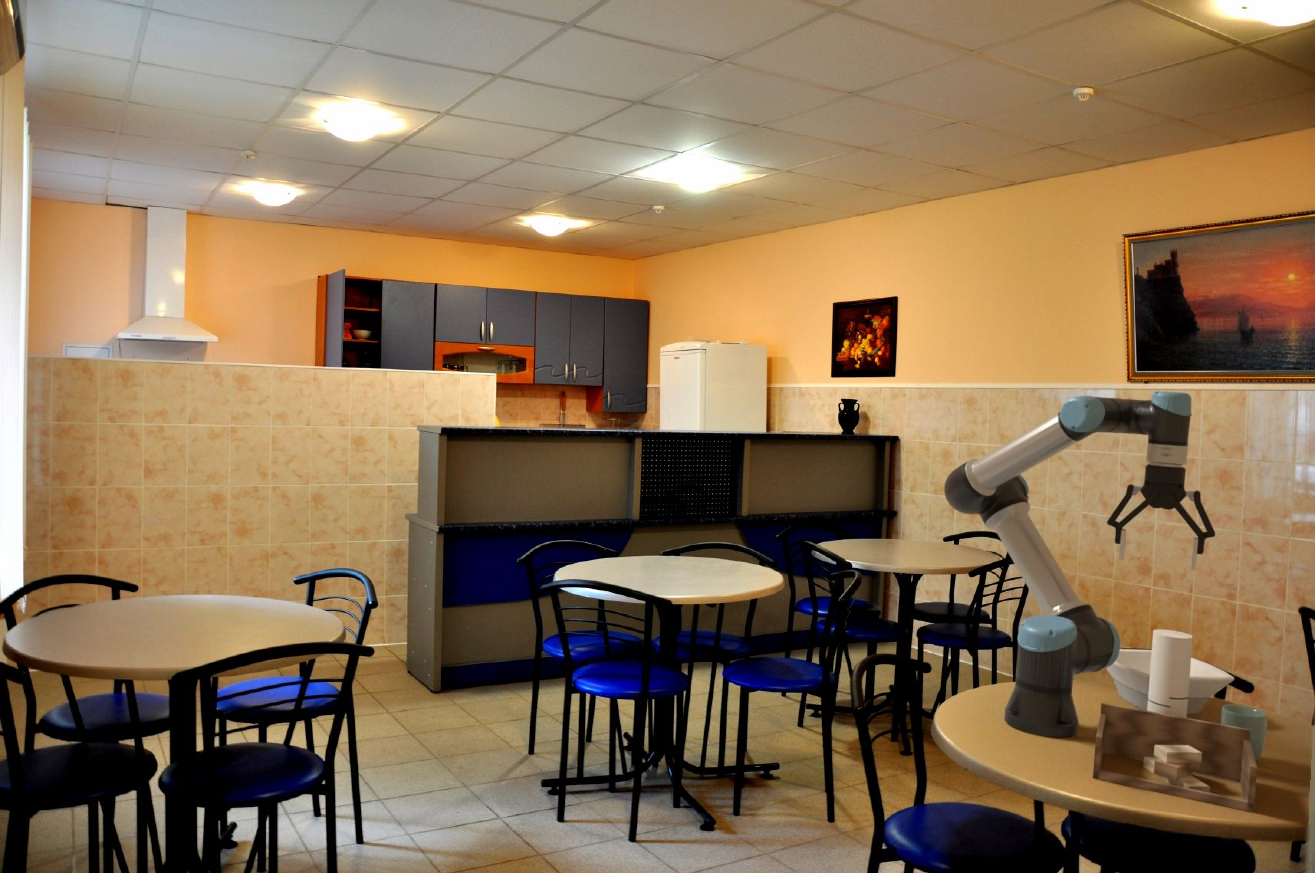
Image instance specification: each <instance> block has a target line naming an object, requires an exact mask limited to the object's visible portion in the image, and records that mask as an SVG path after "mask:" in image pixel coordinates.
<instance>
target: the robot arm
mask: <svg viewBox="0 0 1315 873" xmlns="http://www.w3.org/2000/svg"><path fill="white" fill-rule="evenodd" d="M1192 415H1193V414H1192V397H1191V395H1190V394H1189V393H1186V392H1179V391H1154V392H1153V393H1152V394H1151V398H1150V399H1148V400H1147V399H1145V400H1144V399H1132V398H1121V397H1120V398H1119V397H1117V398H1115V397H1100V396H1092V395H1086V394H1085V395H1080V396H1078V395H1077V396H1073V397H1070V398H1068V399H1066V401H1065V402H1064V403H1063V405H1062V406H1061V409H1060V411H1059V412H1057V413H1056V414H1054V415H1052V416H1050V417H1048V418H1047V419H1045V420H1043V421H1042V422H1040V423H1038V424H1037V425H1035V426H1033V427H1032V428H1030V429H1028V430H1027V431H1025V432H1023V433H1021V434H1020V435H1018V436H1017V437H1015V438H1013V439H1012V440H1010V441H1008V442H1006V443H1005V444H1003V445H1001V446H999V447H998V448H996V449H994V450H993V451H992V452H990V453H988V454H986V455H984V456H983V457H981V458H979V459H978V458H971V459H969V460H968V461H966V462H964V463H962V464H960V465H959V466H958V467H956V468H954V469H953V470H952V471H951V472H950V473H949V475H948V476H947V478H946V480H945V481H944V482H945V483H944V488H943V489H944V497H945V498H946V499H945V500H946V502H947V503H948V504H949V505H950V506H951V508H952V509H954V510H955V511H957V512H958V513H962V514H964V515H979V517H980V518H981V521H982V522H983V523H984V524H983V525H984V526H985V528H987V529H990V530H991V531H992V530H993V531H995V532H996V535H997V536H998V538H999V539H1000V541H1001V543H1002V544H1003V546H1004V548H1005V550H1006V551H1007V553H1008V555H1009V557H1010V559H1012V560H1011V561H1012V562H1013V564H1014V565H1015V567H1016V569H1017V570H1018V573H1019V574H1020V576H1021V578H1022V579H1023V581H1024V583H1025V585H1026V586H1027V588H1028V589H1029V592H1030V593H1031V595H1032V596H1033V599H1034V600H1035V602H1036V604H1037V605H1038V607H1039V609H1040V610H1041V612H1042V615H1034V616H1030V617H1027V618H1025V619H1024V620H1022V621H1021V623H1020V626H1019V631H1018V634H1017V651H1016V652H1017V653H1016V668H1015V681H1014V688H1013V690H1012V693H1010V694H1011V695H1010V697H1009V699H1008V701H1007V704H1006V707H1004V708H1005V709H1004V716H1003V718H1004V719H1003V720H1004V721H1005V722H1006V724H1008V725H1009V726H1011V727H1013V728H1015V729H1017V730H1019V731H1023V732H1026V733H1030V734H1034V735H1039V736H1045V737H1053V738H1054V737H1055V738H1062V737H1063V738H1064V737H1066V738H1067V737H1072V736H1075V735H1077V734H1078V732H1079V722H1080V721H1079V718H1078V714H1077V710H1076V709H1077V708H1076V706H1075V702H1074V699H1073V684H1074V676H1075V675H1080V674H1086V673H1087V674H1088V673H1096V672H1099V671H1101V670H1104V669H1106V668H1107V667H1109V666H1111V665H1112V664H1113V663H1114V662H1115V661H1116V659H1117V658H1118V656H1119V650H1120V649H1121V648H1122V647H1121V638H1120V635H1119V634H1120V633H1119V632H1118V630H1117V629H1116V627H1115V626H1114V625H1113V623H1112V622H1110V621H1109V620H1108V619H1104V618H1103V617H1101V616H1098V615H1097V614H1096V612H1095V610H1094V608H1093V607H1092V605H1091V604H1090V603H1088V602H1085V601H1081V600H1080V598H1079V597H1078V596H1077V593H1076V592H1075V590H1074V589H1073V587H1072V585H1071V584H1070V581H1068V579H1067V577H1066V576H1065V574H1064V572H1063V571H1062V568H1061V567H1060V565H1059V564H1058V562H1057V559H1055V557H1054V555H1053V553H1052V552H1051V550H1050V549H1049V547H1048V546H1047V545H1048V544H1046V541H1045V540H1044V538H1043V537H1042V535H1041V533H1040V532H1039V530H1038V529H1037V526H1036V525H1035V524H1034V522H1033V520H1032V519H1031V516H1030V515H1029V514H1030V513H1029V512H1030V510H1031V504H1030V503H1029V500H1030V499H1029V497H1030V496H1029V493H1030V491H1029V485H1028V483H1027V481H1026V479H1025V478H1024V477H1023V476H1022V475H1021V474H1023V473H1025V472H1026V471H1028V470H1030V469H1031V468H1033V467H1035V466H1037V465H1039V464H1041V463H1043V462H1044V461H1046V460H1048V459H1049V458H1052V457H1053V456H1055V455H1056V454H1058V453H1060V452H1062V451H1064V450H1065V449H1067V448H1069V447H1071V446H1073V445H1074V444H1077V443H1079V442H1080V441H1082V440H1084V439H1086V438H1088V437H1089V436H1091V435H1094V434H1096V433H1111V434H1128V435H1129V434H1130V435H1143V436H1147V445H1146V446H1147V447H1146V459H1145V460H1146V462H1148V464H1146V465H1145V470H1144V479H1143V481H1144V482H1143V485H1142V486H1138V485H1135V484H1133V483H1132V484H1128V485H1127V487H1126V491H1125V494H1124V496H1123V498H1122V499H1121V500H1120V502H1119V503H1118V505H1117V507H1116V508H1115V509H1114V511H1113V512H1112V514H1111V515H1110V516H1109V518H1108V519H1107V521H1106V523H1107V525H1108V526H1111V527H1113V528H1114V529H1115V535H1114V543H1115V545H1116V544H1117V545H1120V546H1119V555H1118V561H1121V562H1123V561H1124V559H1125V551H1126V540H1127V539H1126V538H1127V529H1125V528H1124V527H1125V526H1126V525H1127V524H1128V523H1130V522H1131V521H1132V520H1133V519H1134V518H1136V517H1137V516H1138V515H1140V513H1141V512H1142V511H1144V510H1145V509H1146V508H1147V507H1148V506H1150V507H1151V508H1153V509H1163V510H1168V511H1170V510H1172V509H1175V510H1176V511H1177V513H1179V516H1180V517H1181V518H1182V519H1183V520H1184V521H1185V522H1186V524H1187V525H1188V526H1189V527H1190V529H1191V530H1192V531H1193V533H1194V534H1195V535H1196V537H1194V538H1193V545H1192V554H1191V567H1190V570H1191V571H1196V567H1197V558H1198V555H1203V554H1204V550H1205V542H1206V539H1209V538H1210V539H1211V538H1214V537H1215V536H1216V531H1215V529H1214V527H1213V525H1212V523H1211V521H1210V518H1209V516H1208V514H1207V512H1206V509H1205V507H1204V505H1203V503H1202V498H1201V497H1202V495H1201V494H1202V493H1201V491H1200V490H1198V489H1196V490H1194V491H1191V490H1189V491H1186V490H1185V481H1186V472H1187V470H1186V468H1185V467H1184V466H1186V464H1187V463H1188V462H1187V460H1188V451H1189V449H1188V448H1189V437H1190V436H1189V433H1190V427H1191V426H1190V425H1191V417H1192ZM1138 493H1141V495H1142V497H1143V498H1144V499H1145V500H1143V502H1141V503H1140V504H1139V505H1138V506H1136V507H1135V508H1134V509H1133V510H1132V511H1131V512H1129V513H1128V514H1127V515H1126V516H1125V517H1124V518H1122V519H1121V520H1120V521H1118V520H1117V519H1118V518H1119V516H1120V515H1121V513H1122V512H1123V510H1124V509H1125V507H1126V506H1127V504H1128V503H1129V502H1130V500H1131V499H1132V497H1133V496H1137V494H1138ZM1186 497H1187V498H1189V501H1190V502H1193V503H1194V506H1195V509H1196V511H1197V513H1198V514H1199V518H1200V519H1201V522H1202V524H1203V526H1204V528H1205V530H1206V531H1203V530H1202V529H1201V527H1200V526H1199V525H1198V523H1197V522H1196V521H1195V520H1194V519H1193V517H1192V516H1191V515H1190V514H1189V512H1188V511H1187V510H1186V508H1185V507H1184V506H1183V504H1182V503H1181V502H1182V501H1183V500H1184V499H1185V498H1186Z"/></svg>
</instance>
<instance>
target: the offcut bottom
mask: <svg viewBox="0 0 1315 873" xmlns="http://www.w3.org/2000/svg"><path fill="white" fill-rule="evenodd" d="M1158 759H1159V758H1158V757H1144V761H1143V768H1145V769H1146V770H1147V771H1149V772H1151V773H1152V774H1154V764H1155V761H1156V760H1158ZM1154 775H1155V776H1157V777H1158V778H1160V779H1161V780H1162V781H1164V782H1165V783H1166V784H1171V785H1175V786H1180V787H1185V788H1190V789H1194V790H1199V791H1204V792H1209V793H1210V790H1211V789H1210V788H1211V787H1210V786H1209V785H1208V784H1206V783H1205V782H1203V781H1201V780H1200V779H1198V778H1197V777H1195V776H1193V775H1192V774H1189V775H1187V776H1185V777H1183V778H1181V779H1179V780H1178V781H1174V780H1171V779H1168V778H1165V777H1162V776H1159V775H1156V774H1154Z"/></svg>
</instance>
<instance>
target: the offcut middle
mask: <svg viewBox="0 0 1315 873" xmlns="http://www.w3.org/2000/svg"><path fill="white" fill-rule="evenodd" d="M1200 766H1201V763H1166V762H1164V761H1163V760H1161V759H1158V760H1156V761H1155V764H1154V773H1153V774H1154V775H1155V774H1156V775H1155V776H1157V775H1159V776H1162V777H1165V778H1168V779H1171V780H1174V781H1178V780H1179V779H1181V778H1183V777H1185V776H1187V775H1189V774H1190V775H1192V773H1196V772H1195V771H1197V770H1199V769H1200Z"/></svg>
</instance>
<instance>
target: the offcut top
mask: <svg viewBox="0 0 1315 873" xmlns="http://www.w3.org/2000/svg"><path fill="white" fill-rule="evenodd" d="M1154 756H1156V757H1158V758H1159V759H1161V760H1163V761H1164V762H1166V763H1201V759H1202V752H1200V751H1198V750H1196V749H1195V748H1193V747H1191V746H1189V745H1155V746H1154Z"/></svg>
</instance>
